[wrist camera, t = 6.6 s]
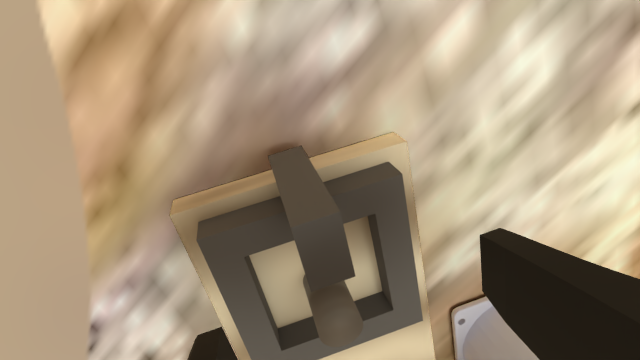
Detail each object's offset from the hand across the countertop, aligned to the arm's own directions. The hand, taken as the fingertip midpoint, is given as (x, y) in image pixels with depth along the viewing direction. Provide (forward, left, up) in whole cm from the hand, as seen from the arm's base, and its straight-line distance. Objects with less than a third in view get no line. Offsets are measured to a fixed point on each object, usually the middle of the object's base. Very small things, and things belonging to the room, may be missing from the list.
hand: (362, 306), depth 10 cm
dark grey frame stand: (-5, 0, -8) cm, 9 cm away
